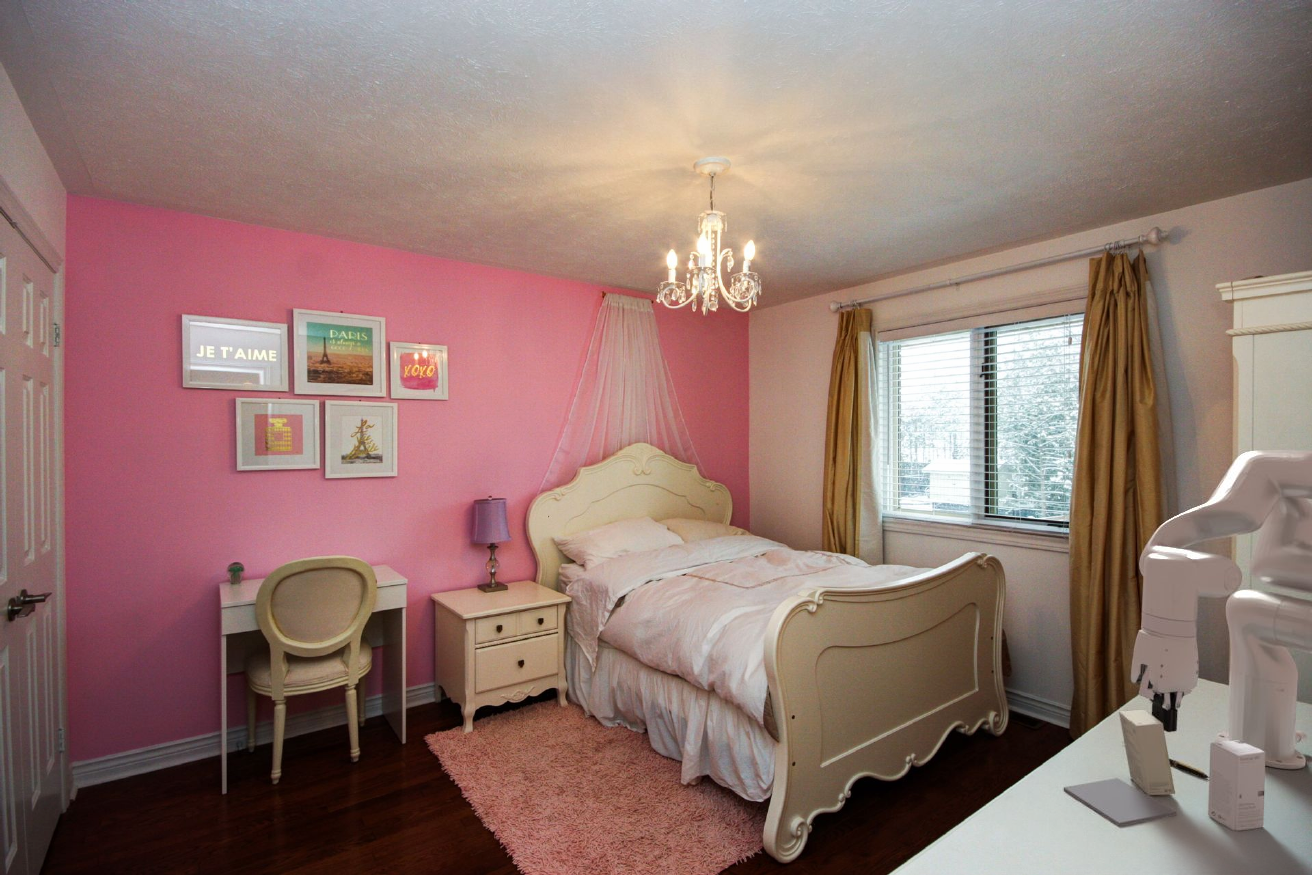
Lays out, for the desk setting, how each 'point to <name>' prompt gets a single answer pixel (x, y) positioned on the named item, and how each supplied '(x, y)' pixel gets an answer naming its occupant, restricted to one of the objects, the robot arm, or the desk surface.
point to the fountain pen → (1187, 768)
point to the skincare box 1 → (1147, 752)
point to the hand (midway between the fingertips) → (1163, 727)
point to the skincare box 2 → (1236, 785)
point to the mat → (1119, 801)
